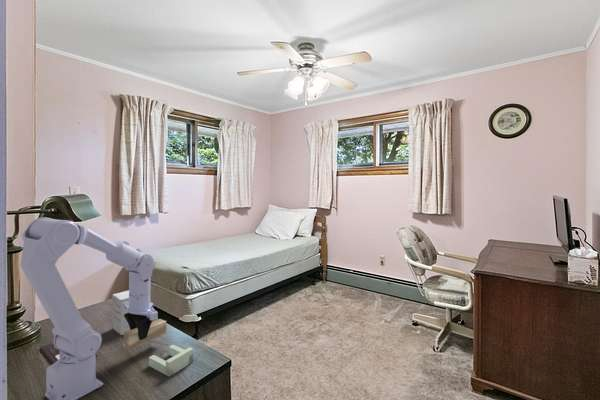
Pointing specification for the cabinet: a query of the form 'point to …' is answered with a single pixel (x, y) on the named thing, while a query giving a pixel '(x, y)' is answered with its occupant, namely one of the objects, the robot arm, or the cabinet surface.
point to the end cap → (172, 360)
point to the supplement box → (120, 312)
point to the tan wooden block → (154, 331)
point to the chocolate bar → (51, 352)
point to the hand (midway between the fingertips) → (139, 336)
